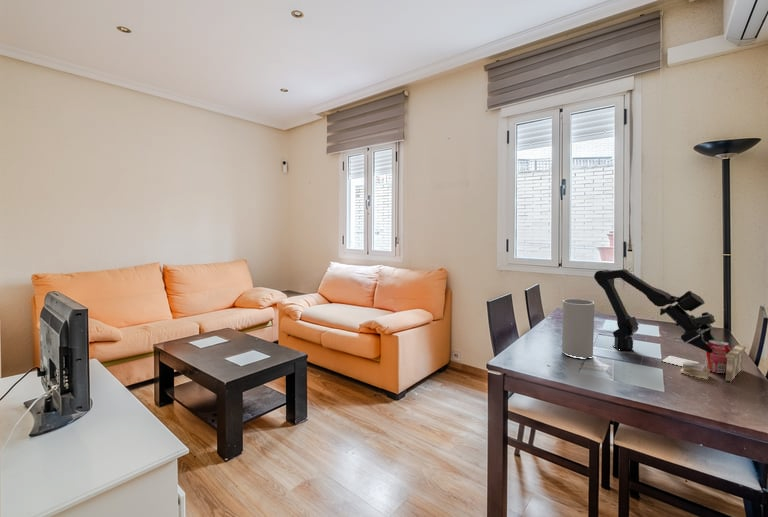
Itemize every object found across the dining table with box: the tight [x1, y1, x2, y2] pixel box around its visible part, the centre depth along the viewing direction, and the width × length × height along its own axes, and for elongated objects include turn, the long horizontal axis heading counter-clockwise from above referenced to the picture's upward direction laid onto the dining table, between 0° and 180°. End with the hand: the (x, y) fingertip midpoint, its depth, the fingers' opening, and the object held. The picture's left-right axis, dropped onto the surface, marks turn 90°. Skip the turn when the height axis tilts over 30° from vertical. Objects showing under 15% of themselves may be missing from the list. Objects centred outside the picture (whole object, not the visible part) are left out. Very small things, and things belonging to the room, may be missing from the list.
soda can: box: [704, 339, 731, 375], centre depth 140 cm, size 7×7×12 cm
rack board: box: [725, 344, 747, 382], centre depth 136 cm, size 18×2×10 cm, turn 125°
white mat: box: [661, 355, 700, 368], centre depth 150 cm, size 10×10×1 cm
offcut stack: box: [679, 361, 711, 379], centre depth 137 cm, size 8×5×4 cm, turn 37°
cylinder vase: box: [561, 298, 595, 358], centre depth 160 cm, size 12×12×25 cm
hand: (715, 349), depth 140 cm, fingers open, 9 cm apart
